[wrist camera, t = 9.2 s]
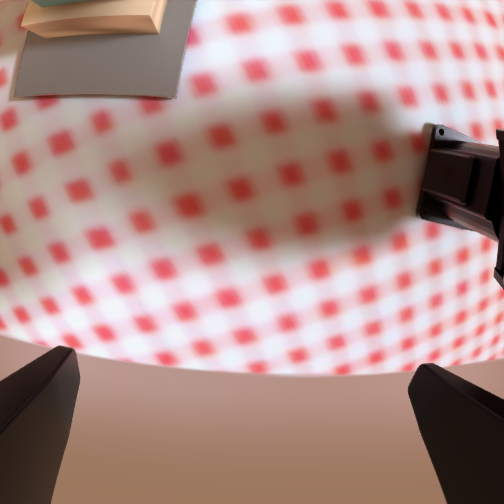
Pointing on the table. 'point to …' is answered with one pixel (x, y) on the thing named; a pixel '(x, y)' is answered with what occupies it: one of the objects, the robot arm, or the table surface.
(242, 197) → the table surface
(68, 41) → the baseplate
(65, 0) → the teal block
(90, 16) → the maple base block
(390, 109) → the table surface
